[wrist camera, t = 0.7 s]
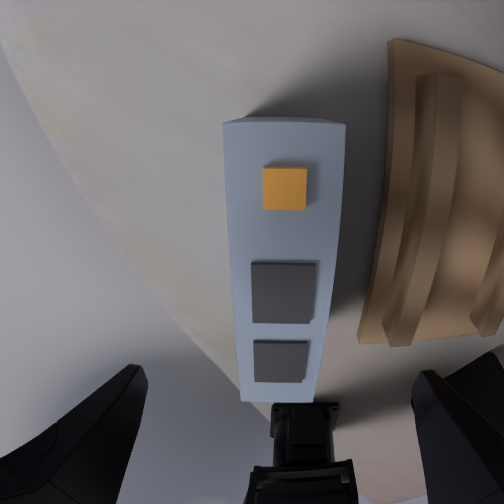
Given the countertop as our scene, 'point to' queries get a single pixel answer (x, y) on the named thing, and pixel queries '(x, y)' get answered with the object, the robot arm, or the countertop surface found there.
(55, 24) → the countertop surface
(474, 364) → the electronic device
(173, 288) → the countertop surface
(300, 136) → the power strip
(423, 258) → the dock
